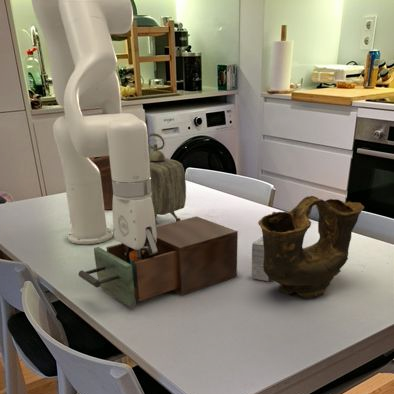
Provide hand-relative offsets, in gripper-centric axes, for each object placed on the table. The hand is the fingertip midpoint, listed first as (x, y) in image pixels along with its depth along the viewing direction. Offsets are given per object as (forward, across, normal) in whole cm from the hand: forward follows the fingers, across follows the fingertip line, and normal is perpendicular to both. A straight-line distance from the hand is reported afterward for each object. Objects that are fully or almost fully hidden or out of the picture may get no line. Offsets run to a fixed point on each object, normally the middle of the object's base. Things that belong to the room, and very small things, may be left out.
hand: (139, 274), depth 109 cm
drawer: (+3, 0, -2) cm, 4 cm away
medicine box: (+5, +11, +28) cm, 30 cm away
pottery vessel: (+5, +22, +29) cm, 36 cm away
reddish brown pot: (+4, -66, +29) cm, 72 cm away
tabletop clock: (+4, -38, +31) cm, 49 cm away
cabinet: (+4, 0, +14) cm, 14 cm away
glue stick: (+2, 0, 0) cm, 2 cm away
